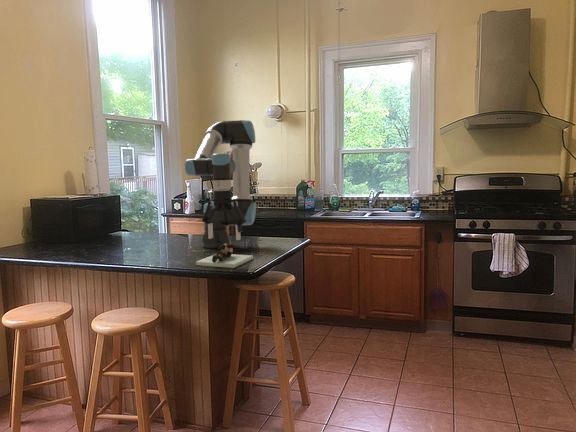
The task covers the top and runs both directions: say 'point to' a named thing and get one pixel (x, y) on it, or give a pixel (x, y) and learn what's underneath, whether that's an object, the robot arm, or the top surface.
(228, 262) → the baseplate
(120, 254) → the top surface
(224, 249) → the toy
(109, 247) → the top surface
